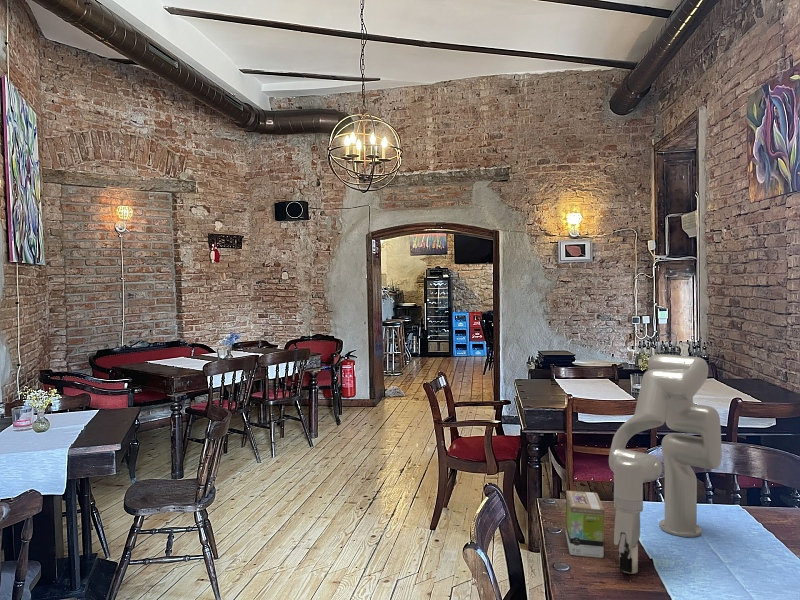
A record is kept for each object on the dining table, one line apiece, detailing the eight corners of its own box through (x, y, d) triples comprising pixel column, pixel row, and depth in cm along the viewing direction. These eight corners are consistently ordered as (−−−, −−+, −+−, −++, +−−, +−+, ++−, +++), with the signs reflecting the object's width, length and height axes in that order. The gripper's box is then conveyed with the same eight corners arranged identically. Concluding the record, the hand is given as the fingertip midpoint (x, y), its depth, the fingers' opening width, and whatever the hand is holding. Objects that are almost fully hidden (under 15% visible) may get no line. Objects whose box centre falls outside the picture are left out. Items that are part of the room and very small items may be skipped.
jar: (622, 563, 161) (622, 537, 160) (639, 568, 158) (639, 541, 157) (617, 570, 157) (617, 543, 157) (635, 575, 154) (635, 547, 154)
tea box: (604, 558, 165) (605, 508, 165) (569, 555, 167) (569, 506, 167) (597, 537, 179) (597, 491, 179) (564, 534, 181) (565, 489, 181)
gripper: (623, 491, 166) (623, 552, 166) (605, 509, 152) (605, 575, 153) (650, 496, 161) (650, 559, 162) (634, 516, 148) (634, 584, 148)
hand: (628, 566), depth 157 cm, fingers closed on jar, 4 cm apart
